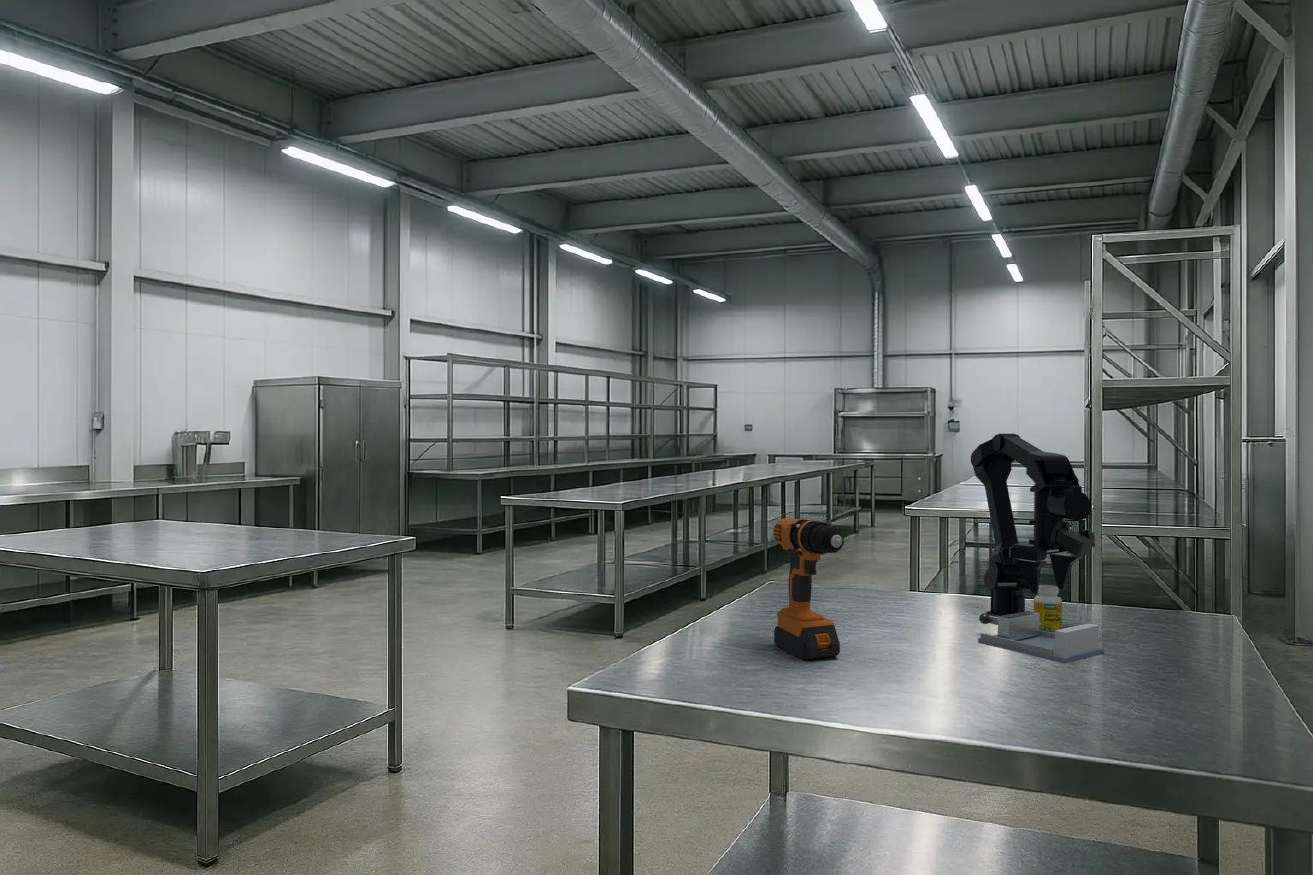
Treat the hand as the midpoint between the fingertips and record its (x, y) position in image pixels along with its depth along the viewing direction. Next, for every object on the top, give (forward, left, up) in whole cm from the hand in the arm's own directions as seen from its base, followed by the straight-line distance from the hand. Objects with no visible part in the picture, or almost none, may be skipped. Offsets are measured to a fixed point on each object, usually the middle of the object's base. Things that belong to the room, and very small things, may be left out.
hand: (1047, 591), depth 182 cm
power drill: (-13, -54, -9) cm, 56 cm away
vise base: (+7, -13, -9) cm, 17 cm away
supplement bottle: (0, 0, -9) cm, 9 cm away
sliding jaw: (-2, -13, -7) cm, 15 cm away
